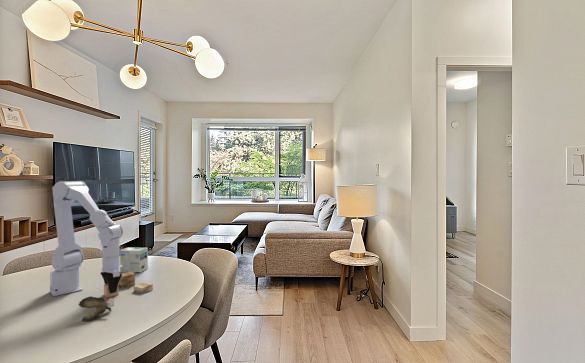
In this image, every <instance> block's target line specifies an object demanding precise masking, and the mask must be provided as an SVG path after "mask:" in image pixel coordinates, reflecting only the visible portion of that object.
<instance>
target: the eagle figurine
mask: <svg viewBox="0 0 585 363" xmlns="http://www.w3.org/2000/svg"><path fill="white" fill-rule="evenodd" d="M106 299H107V300H105V298H104V297H102V296H100V297H94V296H87V297H85V298H82V299H81V300H80V301H79V303H78V306H79V307H80V308H85V309H86V308H87V309H91V308H96V309H94V310H93V311H91V312H89V313H88V314H87V315H85V316H83V317H82V318H81V320H80V321H81V322H89V321H91V320H94V319H95V318H96V317H98V316H100V315H102V314H104V313H106V310H108V311H109V312H112V307H114V306H115V299H113V297H112V298H111V297H109V296H107V297H106Z"/></svg>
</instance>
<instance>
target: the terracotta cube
mask: <svg viewBox="0 0 585 363" xmlns="http://www.w3.org/2000/svg"><path fill="white" fill-rule="evenodd" d="M119 287H120V286H118V287H117V291H116V292H115V293H110V292H109V288H108V284H105V283H104V284H103V295H104V296H105V297H106V298H107V296H109V298H111V297H116V296H120V295H119Z"/></svg>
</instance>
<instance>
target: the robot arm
mask: <svg viewBox="0 0 585 363" xmlns="http://www.w3.org/2000/svg"><path fill="white" fill-rule="evenodd" d="M51 189H52V197H53V198H52V199H53V208H54V218H55V225H56V226H55V227H56V235H57V236H56V237H57V241H58V242H57V245H58V246H56V248H55V249H54V250H53V251H52V254H51V255H52V257H51V267H52V268H53V269H54V270H52V271H50V273H49V292H50V293H51V296H52V297H56V296H60V295H65V294H69V293H75V292H80V291H83V288H82V287H81V285H80V267H81V266H82V265H81V264H83V262H84V260H85V255H84V254H85V253H83V249H82V246H81V245H79V244H78V243H76V239H75V238H76V237H75V230H74V229H75V228H74V221H73V212H72V204H73V203H74V202H75V201H77V202H78V203H79V204H80V205H81V206H82V207H83V208H84V209H85V211H86V212H88V213H89V220H90V222H91V224H92V225H93V226H95V228H96V230H97V231H98V234H97V235H98V238H99V240H100V245H101V246H102V249H101V250H102V252H101V253H102V256H101V257H102V260H101V261H102V268H101V272H100V276H102V279H103V281H104V284H108V288H109V292H110V293H115V292H116V291H117V287H119V285H118V283H119V280H120V278H121V277H122V274H121V273H122V272H120V268H123V266H122V265H120V239H121V237H122V236H123V234H124V231H123V227H122V226H121V225H120V224H119V223H116V222H114V221H113V220H112V219H111V217H110V216H109V215H108V213H107V211H105V210H104V209H99V207H98V205H97V204H96V203H95V201H94V199H93V198H92V197H91V195H90V193H89V187H88V186H87V184H86V183H85V182H84V181H82V180H78V181H73V180H72V181H63V180H62V181H61V180H60V181H57V182H56V183H55V184H54V185H53V186H52V188H51Z"/></svg>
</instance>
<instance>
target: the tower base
mask: <svg viewBox="0 0 585 363" xmlns="http://www.w3.org/2000/svg"><path fill="white" fill-rule="evenodd" d="M119 285H120V286H121V287H120V286H119ZM131 285H132V286H135V285H136V279H135V280H132V281H127V282H123V283H122V282H121V281H119V283H118V286H119V287H120V288H122V287H123V288H128V287H131ZM127 286H128V287H127Z"/></svg>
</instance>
